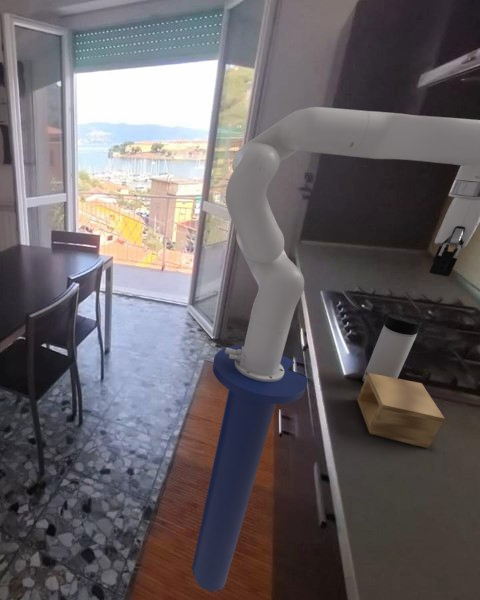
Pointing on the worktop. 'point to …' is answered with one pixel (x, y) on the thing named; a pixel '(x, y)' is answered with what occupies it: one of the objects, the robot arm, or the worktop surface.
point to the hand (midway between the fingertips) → (440, 269)
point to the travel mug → (393, 346)
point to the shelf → (399, 410)
